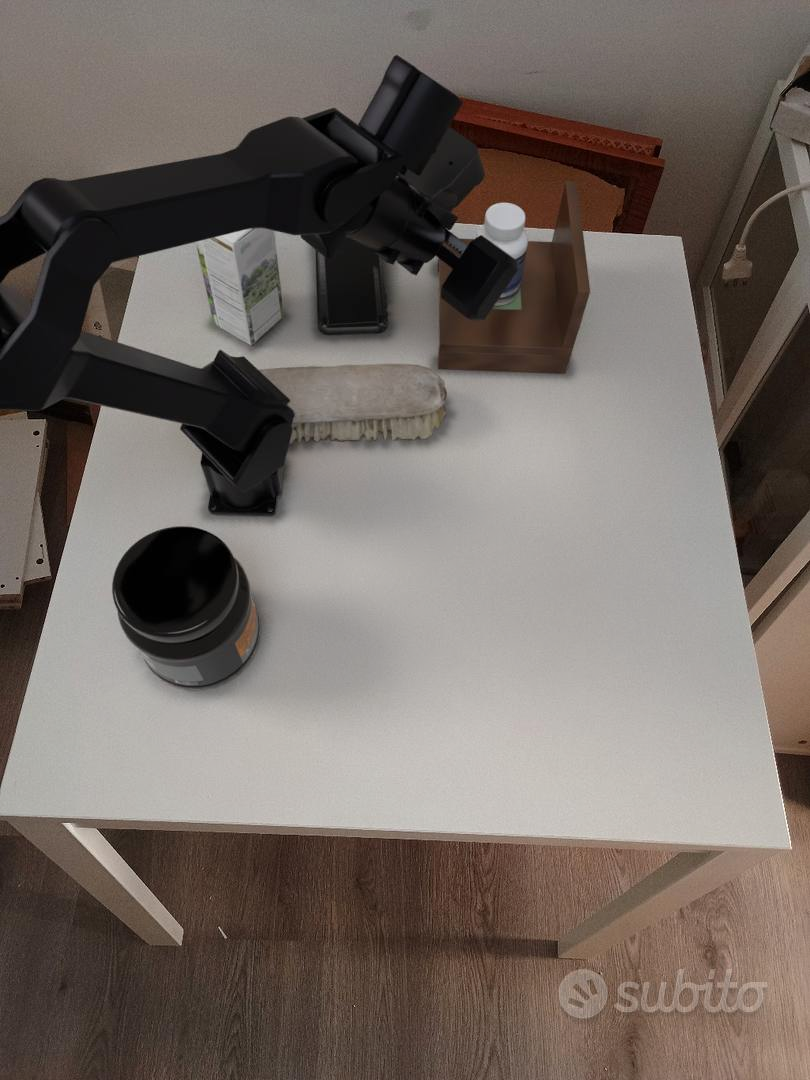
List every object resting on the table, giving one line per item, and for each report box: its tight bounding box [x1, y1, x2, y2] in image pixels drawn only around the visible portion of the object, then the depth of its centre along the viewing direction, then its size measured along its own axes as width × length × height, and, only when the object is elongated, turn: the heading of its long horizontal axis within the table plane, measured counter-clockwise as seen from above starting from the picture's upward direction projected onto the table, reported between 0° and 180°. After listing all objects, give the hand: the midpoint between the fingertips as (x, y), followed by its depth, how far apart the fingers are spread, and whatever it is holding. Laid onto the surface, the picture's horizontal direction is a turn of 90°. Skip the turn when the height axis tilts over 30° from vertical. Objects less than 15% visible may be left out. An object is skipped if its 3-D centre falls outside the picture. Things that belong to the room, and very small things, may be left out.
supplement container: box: [111, 525, 261, 691], centre depth 69 cm, size 10×10×12 cm
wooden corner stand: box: [437, 180, 591, 375], centre depth 89 cm, size 14×16×12 cm
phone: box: [314, 238, 389, 336], centre depth 95 cm, size 8×1×15 cm
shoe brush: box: [258, 363, 448, 445], centre depth 84 cm, size 24×8×5 cm, turn 95°
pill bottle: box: [475, 202, 529, 306], centre depth 86 cm, size 5×5×10 cm
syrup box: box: [194, 228, 285, 347], centre depth 86 cm, size 6×6×14 cm
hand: (462, 257), depth 81 cm, fingers open, 9 cm apart
